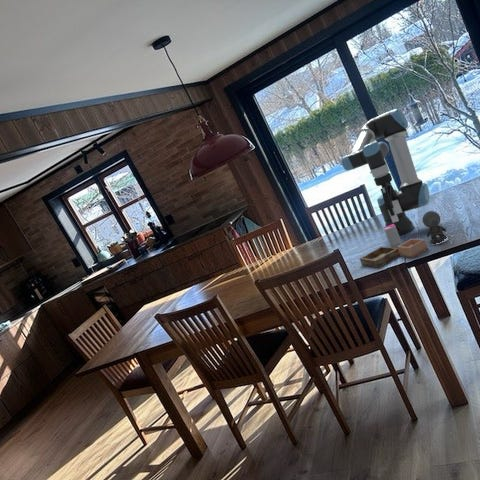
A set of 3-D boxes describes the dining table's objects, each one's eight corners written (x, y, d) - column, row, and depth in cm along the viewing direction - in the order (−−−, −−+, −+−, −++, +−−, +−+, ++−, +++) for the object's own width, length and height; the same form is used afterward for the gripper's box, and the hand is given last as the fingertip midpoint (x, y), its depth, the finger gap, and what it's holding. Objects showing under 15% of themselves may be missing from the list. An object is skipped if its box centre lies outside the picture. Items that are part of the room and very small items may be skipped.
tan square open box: (415, 247, 213) (411, 238, 213) (427, 249, 205) (424, 239, 204) (400, 256, 211) (396, 246, 210) (412, 257, 203) (409, 248, 202)
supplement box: (403, 246, 223) (395, 225, 221) (391, 250, 224) (383, 230, 222) (401, 243, 228) (393, 223, 226) (390, 247, 230) (382, 227, 228)
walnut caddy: (383, 252, 226) (381, 246, 226) (401, 254, 213) (398, 248, 212) (361, 264, 223) (359, 258, 223) (378, 267, 210) (375, 261, 209)
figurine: (447, 235, 211) (437, 206, 209) (450, 241, 202) (439, 211, 200) (429, 240, 214) (418, 212, 212) (431, 247, 205) (420, 218, 203)
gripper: (377, 172, 214) (393, 211, 218) (368, 184, 193) (385, 228, 197) (393, 166, 210) (408, 207, 214) (385, 178, 189) (402, 223, 193)
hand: (397, 217), depth 205 cm, fingers open, 13 cm apart
